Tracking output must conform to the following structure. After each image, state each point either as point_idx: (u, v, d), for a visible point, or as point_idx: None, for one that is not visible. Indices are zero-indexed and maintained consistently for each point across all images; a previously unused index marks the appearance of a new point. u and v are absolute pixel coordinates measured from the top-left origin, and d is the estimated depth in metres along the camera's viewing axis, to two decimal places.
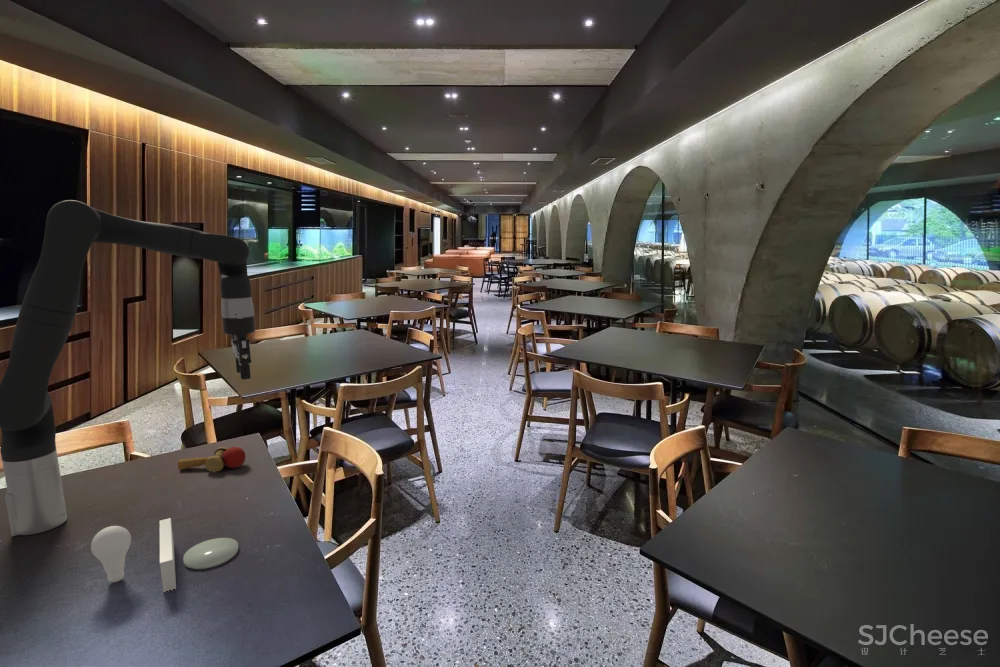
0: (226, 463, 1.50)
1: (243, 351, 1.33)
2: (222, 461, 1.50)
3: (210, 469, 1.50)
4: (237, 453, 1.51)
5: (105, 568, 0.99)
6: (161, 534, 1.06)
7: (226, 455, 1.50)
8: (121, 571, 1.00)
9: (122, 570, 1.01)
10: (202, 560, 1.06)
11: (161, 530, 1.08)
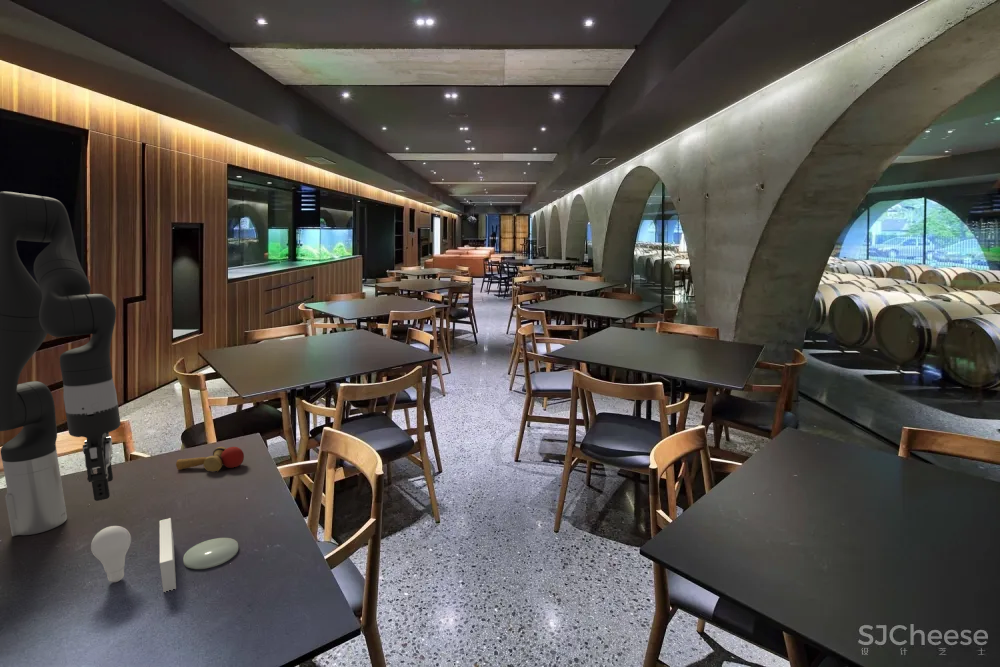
0: (224, 463, 1.50)
1: (92, 463, 0.91)
2: (220, 461, 1.50)
3: (208, 469, 1.50)
4: (236, 452, 1.51)
5: (105, 568, 0.99)
6: (161, 534, 1.06)
7: (225, 455, 1.50)
8: (121, 571, 1.00)
9: (122, 570, 1.01)
10: (202, 560, 1.06)
11: (161, 530, 1.08)
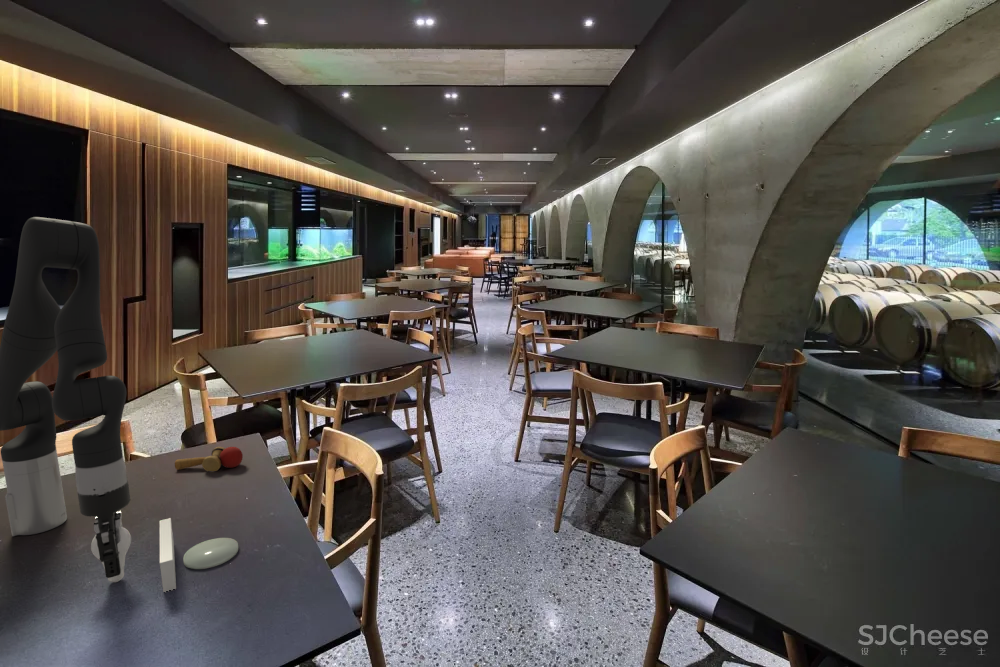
0: (223, 463, 1.50)
1: (104, 547, 0.94)
2: (219, 461, 1.50)
3: (207, 469, 1.50)
4: (235, 452, 1.51)
5: None
6: (161, 534, 1.06)
7: (223, 455, 1.50)
8: (121, 571, 1.00)
9: (122, 570, 1.01)
10: (202, 560, 1.06)
11: (161, 530, 1.08)
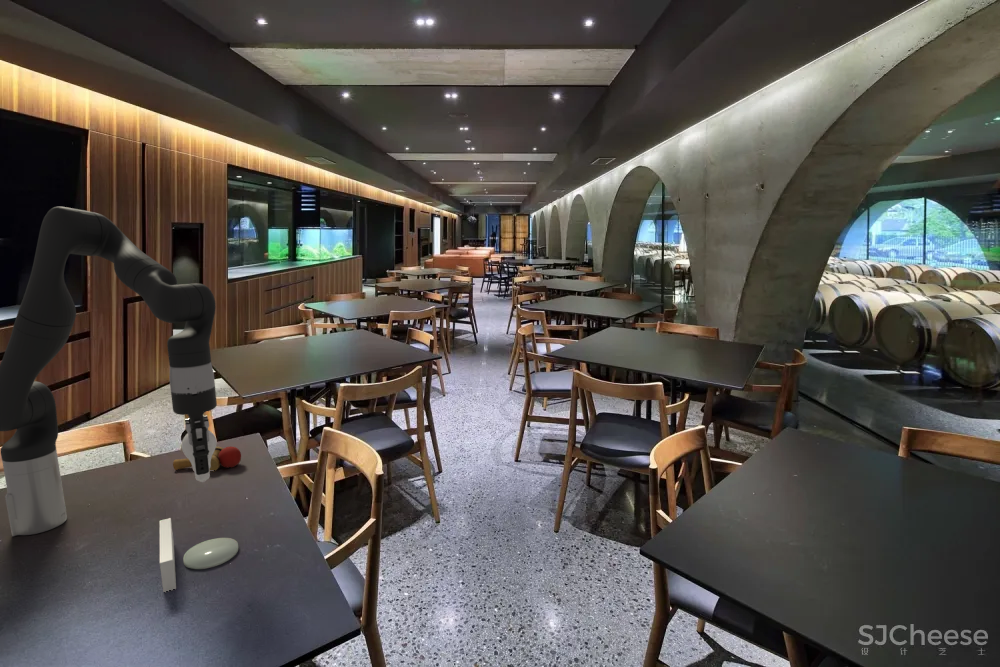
0: (222, 463, 1.50)
1: (198, 442, 1.00)
2: (218, 461, 1.50)
3: None
4: (233, 452, 1.52)
5: (194, 467, 1.05)
6: (161, 534, 1.06)
7: (222, 455, 1.50)
8: None
9: None
10: (202, 560, 1.06)
11: (161, 530, 1.08)
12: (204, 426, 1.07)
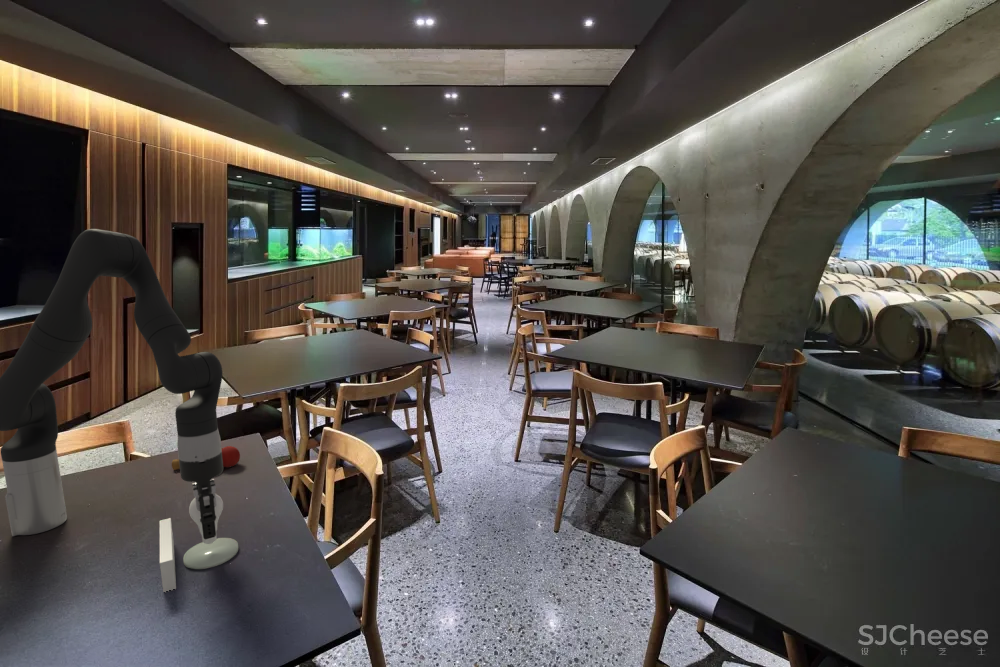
0: None
1: (205, 509, 1.02)
2: None
3: None
4: (232, 452, 1.52)
5: (201, 531, 1.07)
6: (161, 534, 1.06)
7: None
8: None
9: None
10: (202, 560, 1.06)
11: (161, 530, 1.08)
12: None
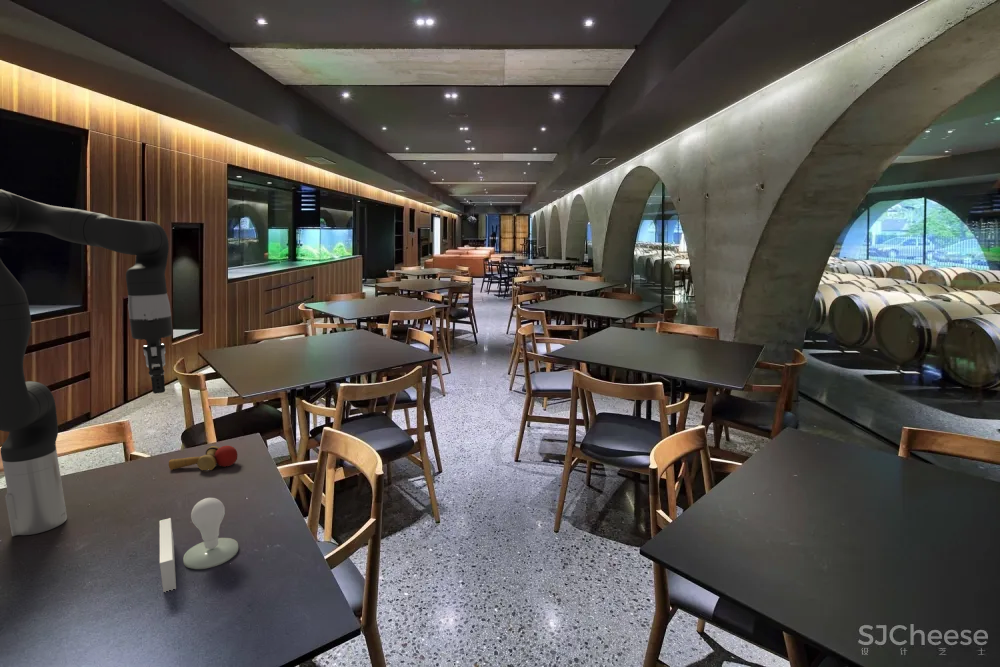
0: (219, 462, 1.51)
1: (153, 359, 1.10)
2: (214, 460, 1.51)
3: (202, 468, 1.50)
4: (230, 451, 1.52)
5: (203, 536, 1.08)
6: (161, 534, 1.06)
7: (219, 454, 1.51)
8: (216, 539, 1.10)
9: (217, 538, 1.10)
10: (202, 560, 1.06)
11: (161, 530, 1.08)
12: None
